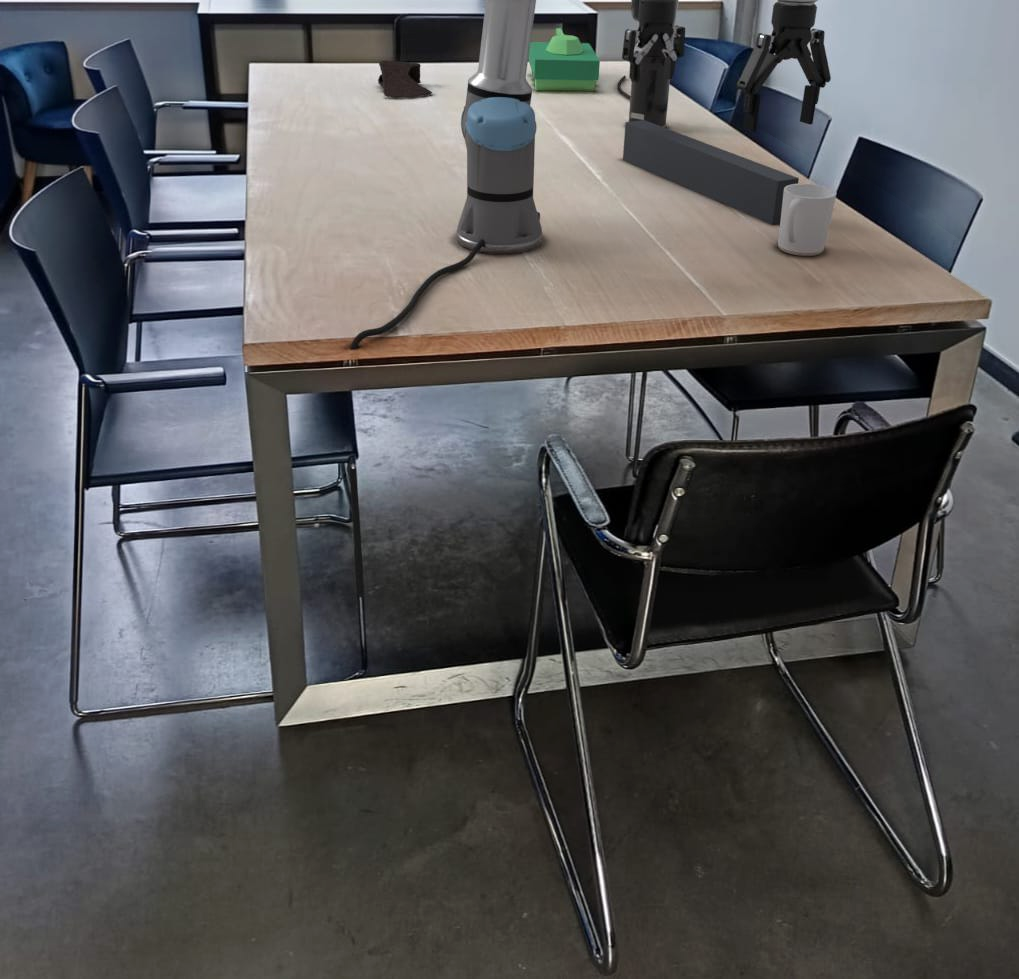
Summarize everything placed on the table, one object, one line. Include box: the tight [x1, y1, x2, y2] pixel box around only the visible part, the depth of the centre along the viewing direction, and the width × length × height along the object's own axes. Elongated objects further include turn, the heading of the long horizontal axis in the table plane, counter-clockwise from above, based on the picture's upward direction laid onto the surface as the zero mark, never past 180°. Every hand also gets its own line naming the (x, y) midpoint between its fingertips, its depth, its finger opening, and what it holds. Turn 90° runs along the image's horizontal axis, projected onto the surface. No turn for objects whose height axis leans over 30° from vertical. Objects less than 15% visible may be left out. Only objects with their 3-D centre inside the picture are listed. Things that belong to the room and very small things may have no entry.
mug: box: [777, 183, 837, 257], centre depth 191 cm, size 11×9×10 cm
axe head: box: [377, 59, 433, 99], centre depth 299 cm, size 18×8×15 cm
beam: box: [622, 120, 800, 225], centre depth 224 cm, size 50×5×8 cm, turn 29°
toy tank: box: [528, 27, 601, 91], centre depth 314 cm, size 18×12×35 cm
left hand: (778, 126), depth 203 cm, fingers open, 13 cm apart
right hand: (651, 80), depth 232 cm, fingers open, 8 cm apart
